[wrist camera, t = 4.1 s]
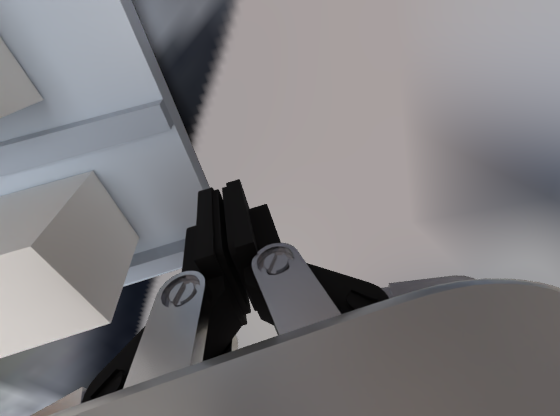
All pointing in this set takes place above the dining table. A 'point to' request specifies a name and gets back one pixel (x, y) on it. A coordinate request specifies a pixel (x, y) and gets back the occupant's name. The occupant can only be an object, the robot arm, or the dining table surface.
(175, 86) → the dining table surface
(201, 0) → the dining table surface
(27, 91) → the off-white block
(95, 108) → the switch bank
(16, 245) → the white block
